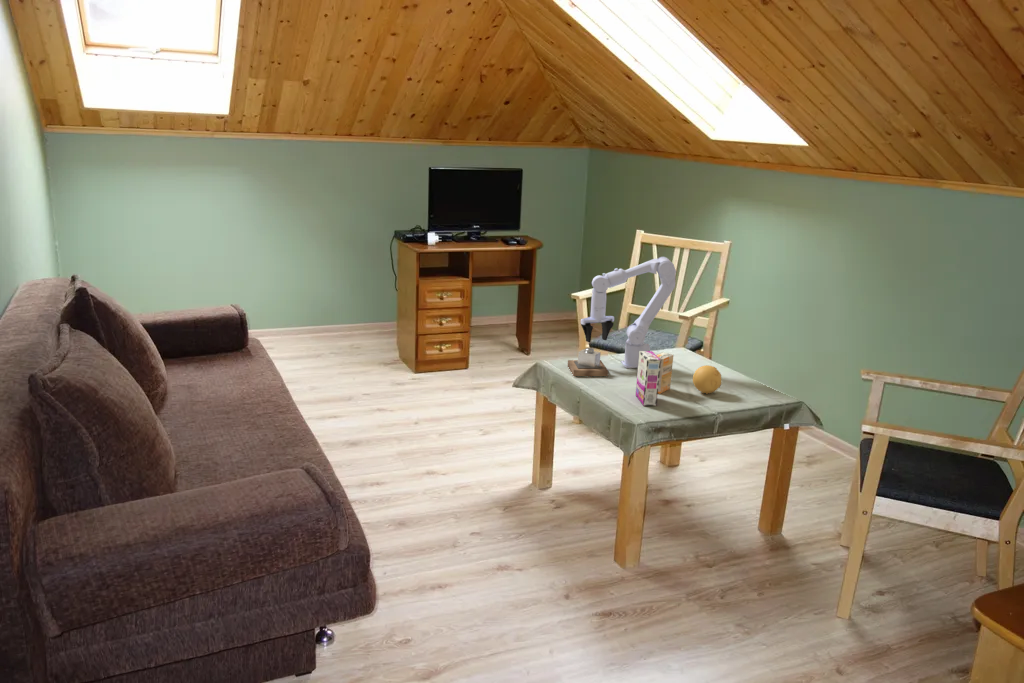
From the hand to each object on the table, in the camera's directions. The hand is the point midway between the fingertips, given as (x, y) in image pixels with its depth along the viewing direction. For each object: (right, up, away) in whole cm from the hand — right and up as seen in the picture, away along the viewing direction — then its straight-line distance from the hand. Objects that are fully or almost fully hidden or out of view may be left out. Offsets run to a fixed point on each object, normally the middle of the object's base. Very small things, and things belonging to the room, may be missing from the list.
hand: (596, 340), depth 310 cm
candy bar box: (+13, -21, -38) cm, 45 cm away
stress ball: (+36, -19, -27) cm, 49 cm away
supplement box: (+20, -18, -26) cm, 38 cm away
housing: (-4, -9, -9) cm, 13 cm away
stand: (-4, -12, -8) cm, 15 cm away
